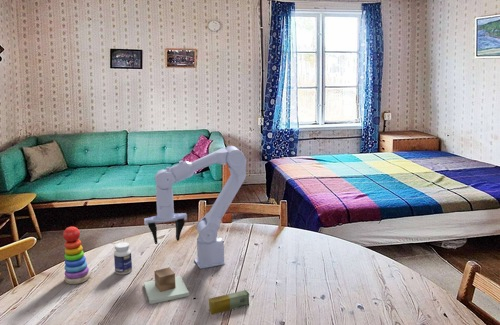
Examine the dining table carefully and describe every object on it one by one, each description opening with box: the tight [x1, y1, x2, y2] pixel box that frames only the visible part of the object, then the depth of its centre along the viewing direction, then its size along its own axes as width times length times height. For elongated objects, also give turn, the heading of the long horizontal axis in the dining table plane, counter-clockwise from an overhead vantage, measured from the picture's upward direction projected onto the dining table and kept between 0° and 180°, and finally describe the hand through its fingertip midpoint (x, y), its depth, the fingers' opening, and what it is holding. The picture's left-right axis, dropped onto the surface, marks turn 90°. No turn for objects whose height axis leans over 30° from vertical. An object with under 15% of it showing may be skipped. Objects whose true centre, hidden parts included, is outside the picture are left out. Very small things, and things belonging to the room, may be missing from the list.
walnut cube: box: [153, 267, 176, 292], centre depth 131 cm, size 5×5×5 cm
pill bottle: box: [113, 241, 133, 275], centre depth 144 cm, size 6×6×10 cm
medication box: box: [208, 289, 250, 315], centre depth 122 cm, size 12×3×4 cm, turn 113°
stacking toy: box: [62, 226, 91, 285], centre depth 137 cm, size 8×8×19 cm
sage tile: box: [143, 275, 190, 305], centre depth 131 cm, size 12×12×1 cm
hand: (166, 241), depth 145 cm, fingers open, 7 cm apart
